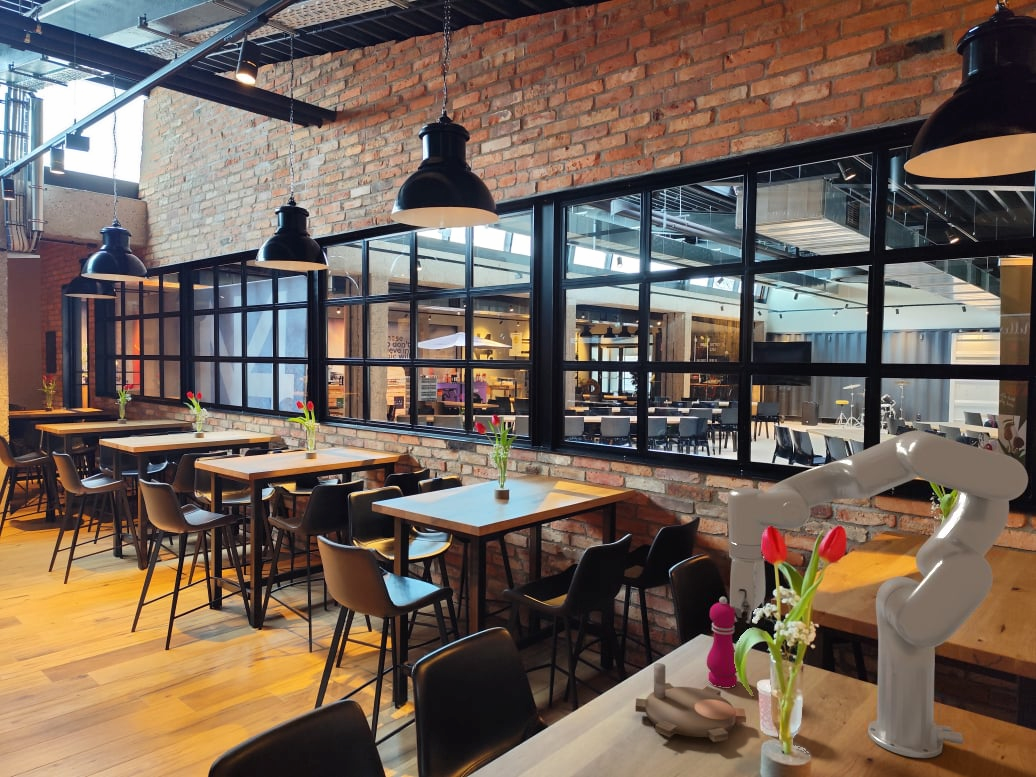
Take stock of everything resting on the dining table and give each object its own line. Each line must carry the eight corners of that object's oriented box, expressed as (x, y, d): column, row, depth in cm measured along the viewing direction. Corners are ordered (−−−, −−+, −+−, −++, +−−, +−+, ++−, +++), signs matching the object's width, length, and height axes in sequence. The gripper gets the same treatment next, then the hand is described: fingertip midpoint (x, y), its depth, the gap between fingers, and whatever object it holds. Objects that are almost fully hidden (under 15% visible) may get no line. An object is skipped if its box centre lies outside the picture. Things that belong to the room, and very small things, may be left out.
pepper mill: (732, 692, 152) (733, 604, 152) (701, 683, 157) (702, 597, 156) (743, 681, 158) (744, 595, 158) (713, 672, 163) (713, 589, 162)
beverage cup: (767, 740, 133) (767, 669, 133) (750, 724, 139) (751, 656, 139) (795, 736, 134) (796, 666, 134) (777, 721, 140) (778, 653, 140)
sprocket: (671, 679, 155) (671, 645, 155) (759, 709, 141) (760, 672, 141) (618, 716, 139) (618, 678, 139) (711, 754, 125) (712, 712, 125)
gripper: (741, 538, 148) (743, 616, 148) (716, 558, 133) (719, 644, 134) (777, 542, 143) (779, 622, 144) (756, 562, 129) (758, 652, 129)
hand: (750, 633), depth 139 cm, fingers open, 9 cm apart
